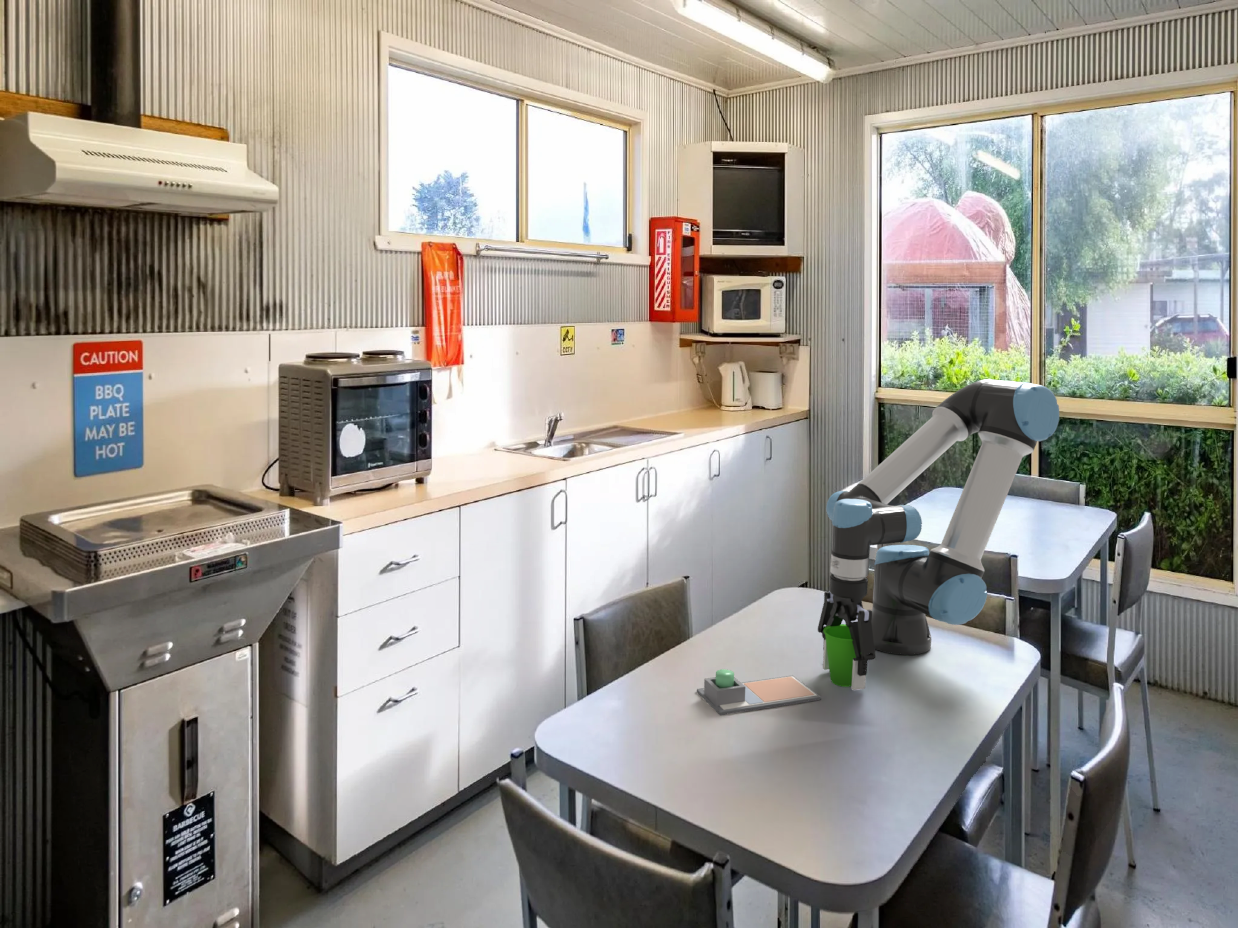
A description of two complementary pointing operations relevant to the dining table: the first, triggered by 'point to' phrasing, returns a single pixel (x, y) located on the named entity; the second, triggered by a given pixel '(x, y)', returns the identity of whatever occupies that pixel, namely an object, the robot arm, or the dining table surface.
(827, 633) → the cup
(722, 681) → the button
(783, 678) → the grey holder tray
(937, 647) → the dining table surface
